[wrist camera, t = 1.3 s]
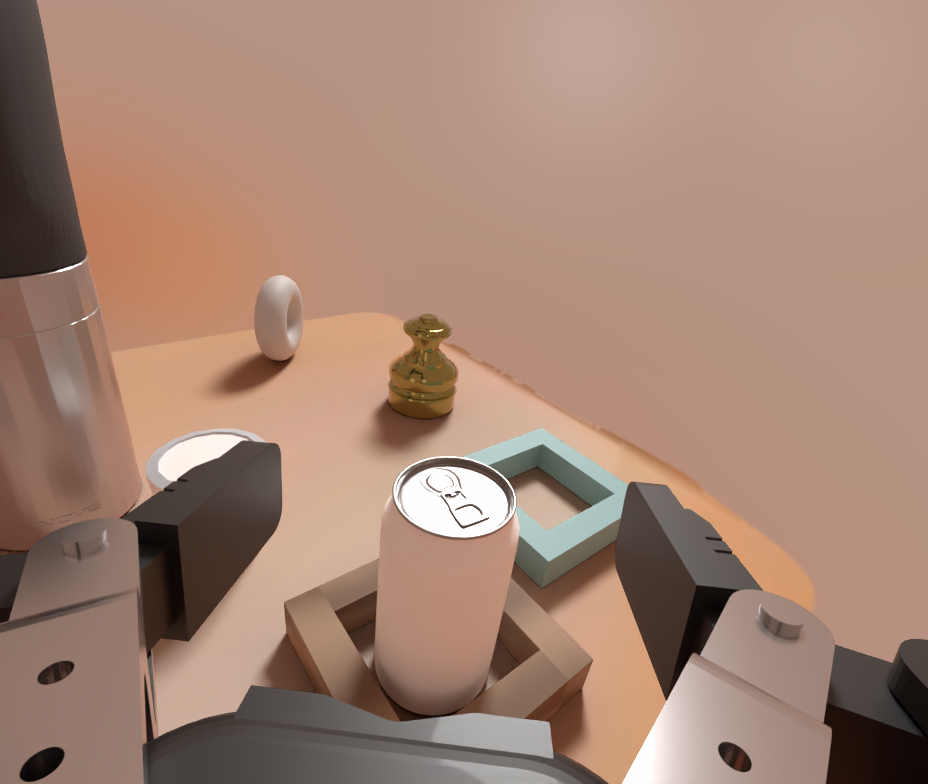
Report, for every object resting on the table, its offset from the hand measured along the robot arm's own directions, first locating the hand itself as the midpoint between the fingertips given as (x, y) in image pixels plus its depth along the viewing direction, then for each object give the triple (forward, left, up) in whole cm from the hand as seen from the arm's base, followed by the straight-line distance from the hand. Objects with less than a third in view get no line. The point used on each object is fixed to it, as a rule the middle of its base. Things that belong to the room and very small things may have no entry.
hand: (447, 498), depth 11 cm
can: (-6, +6, -19) cm, 21 cm away
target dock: (-12, +21, -19) cm, 31 cm away
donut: (-48, +13, -19) cm, 53 cm away
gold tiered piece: (-31, +22, -19) cm, 43 cm away
